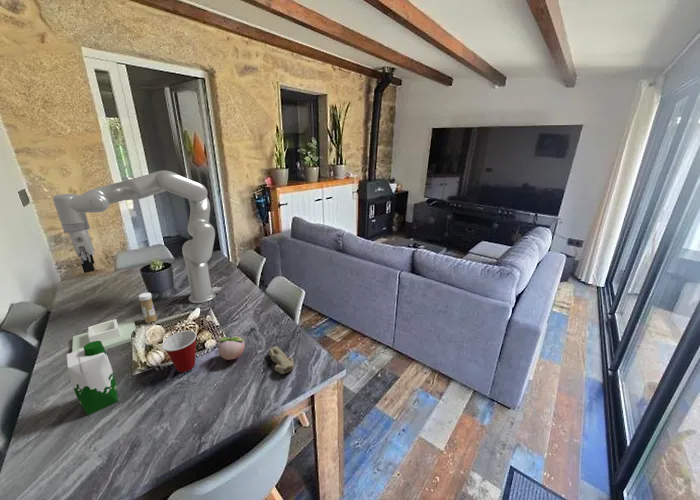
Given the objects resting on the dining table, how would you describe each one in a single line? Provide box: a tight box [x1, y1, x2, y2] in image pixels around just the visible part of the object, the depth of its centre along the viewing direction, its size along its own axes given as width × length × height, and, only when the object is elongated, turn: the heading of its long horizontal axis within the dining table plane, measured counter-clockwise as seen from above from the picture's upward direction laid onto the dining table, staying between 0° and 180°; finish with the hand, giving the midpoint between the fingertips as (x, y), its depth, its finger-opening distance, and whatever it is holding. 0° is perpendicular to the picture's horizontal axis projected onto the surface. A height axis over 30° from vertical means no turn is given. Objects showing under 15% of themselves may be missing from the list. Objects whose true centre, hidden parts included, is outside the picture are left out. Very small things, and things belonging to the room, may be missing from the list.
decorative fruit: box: [217, 335, 246, 361], centre depth 106 cm, size 9×8×10 cm
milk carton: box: [66, 341, 119, 416], centre depth 86 cm, size 9×9×20 cm
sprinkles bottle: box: [138, 292, 158, 324], centre depth 128 cm, size 5×5×13 cm
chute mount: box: [71, 318, 137, 353], centre depth 117 cm, size 20×16×6 cm
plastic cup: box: [161, 329, 197, 373], centre depth 102 cm, size 11×11×12 cm
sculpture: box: [268, 345, 295, 375], centre depth 105 cm, size 7×5×15 cm
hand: (89, 267), depth 116 cm, fingers open, 9 cm apart
